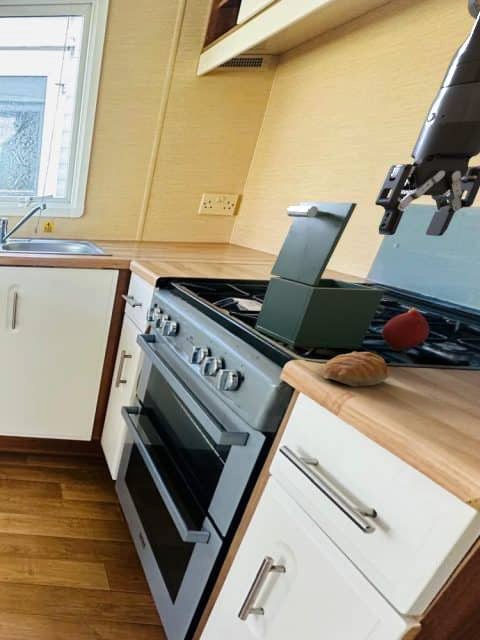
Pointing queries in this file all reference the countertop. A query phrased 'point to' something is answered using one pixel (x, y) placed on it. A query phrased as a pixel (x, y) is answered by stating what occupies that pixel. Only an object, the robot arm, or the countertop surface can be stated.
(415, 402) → the countertop surface
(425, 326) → the onion
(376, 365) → the pastry
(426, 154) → the robot arm
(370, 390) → the countertop surface
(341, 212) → the lid
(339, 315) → the box
